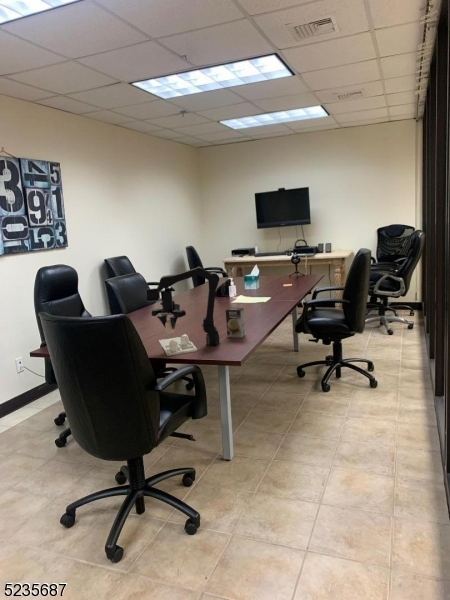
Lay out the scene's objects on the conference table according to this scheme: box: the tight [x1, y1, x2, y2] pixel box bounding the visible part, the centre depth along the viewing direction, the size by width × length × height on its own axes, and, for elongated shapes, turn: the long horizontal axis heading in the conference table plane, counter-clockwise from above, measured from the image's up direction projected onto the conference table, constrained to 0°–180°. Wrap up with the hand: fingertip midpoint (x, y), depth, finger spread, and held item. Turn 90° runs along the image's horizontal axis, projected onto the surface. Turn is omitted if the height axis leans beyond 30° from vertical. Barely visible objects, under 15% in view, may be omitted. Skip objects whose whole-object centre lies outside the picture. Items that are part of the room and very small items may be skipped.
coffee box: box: [225, 307, 246, 338], centre depth 256 cm, size 9×6×16 cm
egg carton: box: [158, 336, 198, 357], centre depth 245 cm, size 32×16×2 cm, turn 16°
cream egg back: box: [180, 334, 190, 347], centre depth 242 cm, size 4×4×7 cm
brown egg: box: [164, 319, 175, 334], centre depth 238 cm, size 4×4×7 cm
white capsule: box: [169, 340, 178, 353], centre depth 233 cm, size 4×4×7 cm
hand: (169, 328), depth 238 cm, fingers closed on brown egg, 4 cm apart
